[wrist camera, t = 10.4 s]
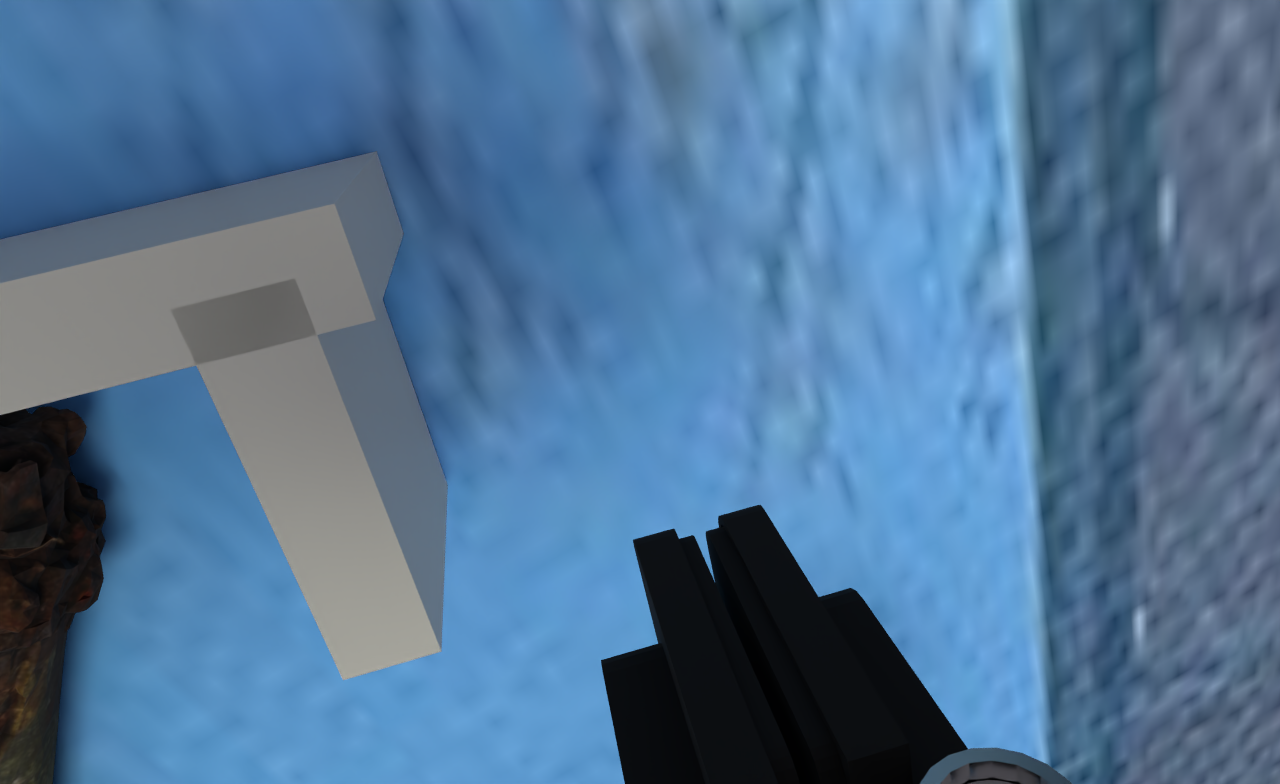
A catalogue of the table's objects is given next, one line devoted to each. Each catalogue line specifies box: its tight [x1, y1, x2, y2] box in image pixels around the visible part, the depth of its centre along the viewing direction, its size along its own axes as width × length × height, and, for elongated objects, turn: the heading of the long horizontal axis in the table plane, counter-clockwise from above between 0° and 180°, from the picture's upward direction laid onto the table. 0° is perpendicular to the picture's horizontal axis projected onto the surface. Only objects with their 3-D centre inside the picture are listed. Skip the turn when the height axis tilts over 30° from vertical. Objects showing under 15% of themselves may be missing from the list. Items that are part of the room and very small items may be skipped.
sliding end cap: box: [0, 151, 448, 680], centre depth 18 cm, size 11×9×7 cm
